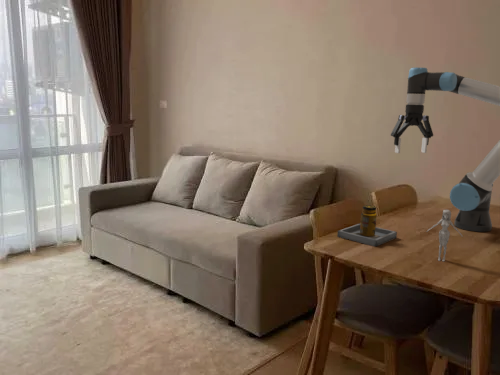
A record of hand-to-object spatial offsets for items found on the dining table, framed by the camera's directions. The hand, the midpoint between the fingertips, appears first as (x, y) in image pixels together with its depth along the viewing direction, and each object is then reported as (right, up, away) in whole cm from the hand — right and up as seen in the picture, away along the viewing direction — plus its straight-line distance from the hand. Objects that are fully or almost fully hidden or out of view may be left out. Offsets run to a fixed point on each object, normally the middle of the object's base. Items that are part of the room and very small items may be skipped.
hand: (410, 152), depth 216 cm
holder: (-24, -36, -20) cm, 47 cm away
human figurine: (-4, -41, -44) cm, 60 cm away
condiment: (-25, -35, -20) cm, 47 cm away
